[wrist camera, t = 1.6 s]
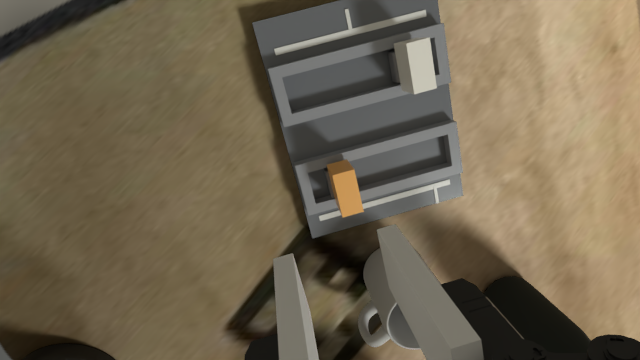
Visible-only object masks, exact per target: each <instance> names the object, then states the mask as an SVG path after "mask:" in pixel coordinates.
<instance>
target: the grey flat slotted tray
mask: <svg viewBox="0 0 640 360" xmlns="http://www.w3.org/2000/svg"><path fill="white" fill-rule="evenodd" d="M252 24H253V28H254V31H255V35H256V38H257V42H258V46H259V49H260V53H261V56H262V60H263V63H264V67H265V71H266V74H267V78H268V81H269V85H270V88H271V92H272V96H273V99H274V103H275V106H276V110H277V114H278V117H279V121H280V124H281V128H282V131H283V135H284V139H285V142H286V146H287V149H288V153H289V156H290V160H291V164H292V167H293V171H294V174H295V178H296V181H297V185H298V189H299V192H300V196H301V199H302V203H303V207H304V210H305V214H306V217H307V221H308V224H309V228H310V232H311V235H312V238H316V237H319V236H323V235H326V234H330V233H333V232H337V231H340V230H344V229H347V228H351V227H354V226H358V225H361V224H365V223H368V222H372V221H376V220H379V219H383V218H386V217H390V216H393V215H397V214H400V213H404V212H407V211H411V210H414V209H418V208H421V207H425V206H428V205H432V204H435V203H436V204H437V203H439V202H442V201H446V200H449V199H453V198H456V197H460V196H463V190H462V183H461V175H460V173H462V172H463V170H462V162H461V154H460V146H459V139H458V131H457V123H456V121H453V114H452V107H451V99H450V91H449V84H448V83H451V77H450V69H449V61H448V53H447V46H446V38H445V30H444V23H440V15H439V8H438V0H339V1H335V2H331V3H327V4H323V5H319V6H316V7H312V8H308V9H304V10H300V11H296V12H292V13H288V14H284V15H280V16H276V17H272V18H269V19H265V20H261V21H257V22H253V23H252ZM427 37H430V43H431V50H432V57H433V64H434V71H435V78H436V85H437V88H436V89H433V90H429V91H425V92H422V93H418V94H411V93H408V92H405V91H402V90H401V84H400V82H398V83H397V82H393V81H392V75H391V70H390V64H389V58H388V52H392V51H395V49H394V43H398V42H402V41H405V40H409V39H413V38H427ZM346 159H347V160H348V162H349V163H350V164H351V166H352V167H353V168H354V170H355V175H356V179H357V183H358V188H359V192H360V197H361V201H362V206H363V210H364V212H361V213H357V214H354V215H350V216H347V217H342V215H341V213H340V211H339V209H338V207H337V205H336V201H335V197H334V198H332V197H331V194H330V192H329V188H328V184H327V180H326V176H325V172H324V168H327V165H328V164H331V163H335V162H339V161H342V160H346Z"/></svg>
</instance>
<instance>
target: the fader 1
mask: <svg viewBox="0 0 640 360" xmlns="http://www.w3.org/2000/svg"><path fill="white" fill-rule="evenodd" d="M324 172H325V176H326V180H327V184H328V188H329V192H330V194H331V197H332V198H334V197H335V201H336V205H337V207H338V209H339V211H340V213H341V215H342V217H347V216H350V215H354V214H357V213H361V212H364V210H363V206H362V201H361V197H360V192H359V188H358V183H357V179H356V175H355V170H354V168H353V167H352V166H351V164H350V163H349V162H348V160H347V159H346V160H342V161H339V162H335V163H331V164H328V165H327V168H324Z"/></svg>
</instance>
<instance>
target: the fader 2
mask: <svg viewBox="0 0 640 360" xmlns="http://www.w3.org/2000/svg"><path fill="white" fill-rule="evenodd" d="M394 49H395V51H392V52H388V58H389V64H390V70H391V75H392V81H393V82H397V83H398V82H400V84H401V90H402V91H405V92H408V93H411V94H418V93H422V92H425V91H429V90H433V89H436V88H437V85H436V78H435V71H434V64H433V57H432V50H431V43H430V37H427V38H413V39H409V40H405V41H402V42H398V43H394Z"/></svg>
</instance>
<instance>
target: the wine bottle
mask: <svg viewBox="0 0 640 360" xmlns="http://www.w3.org/2000/svg"><path fill="white" fill-rule="evenodd" d="M484 296H485V298H487V299H488V300H489V301H490V302H491V303H492V305H493V307H495V308H496V309H497V310H498V311H499V312H500V314H501V315H502V316H503V317H504V318H505V319H506V320H507V321H508V323H509V324H510V325H511V326H512V327H513V328H514V329H515V330H516V332H517V333H518V334H519V335H520V336H521V337H522V338H523V339H525V340H530V341H533V342H535V343H537V344H539V345H541V346H542V347H543V348H544V349H545V350H546V351H548V352H552V353H587V348H588V345H589V343H590V341H591V340H590V339H589V338H588V337H587V335H586V334H585V333H584V332H583V331H582V330H581V329H580V328H579V327H578V326H577V325H576V324H575V323H573V322H572V321H571V320H570V319H569V318H568V317H567V316H566V315H564V314H563V313H562V312H561V311H560V310H559V309H558V308H557V307H556V306H554V305H553V304H552V303H551V302H550V301H549V300H548V299H547V298H545V297H544V296H543V295H542V294H541V293H540V292H539V291H538V290H536V289H535V288H534V287H533V286H532V285H531V284H529V283H528V282H527V281H525V280H524V279H522V278H518V277H515V276H512V277H504V278H501V279H499V280H497V281H495V282H494V283H493V284H491V285H490V286H489V287H488V289H487V290H486V291H485V293H484Z"/></svg>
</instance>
